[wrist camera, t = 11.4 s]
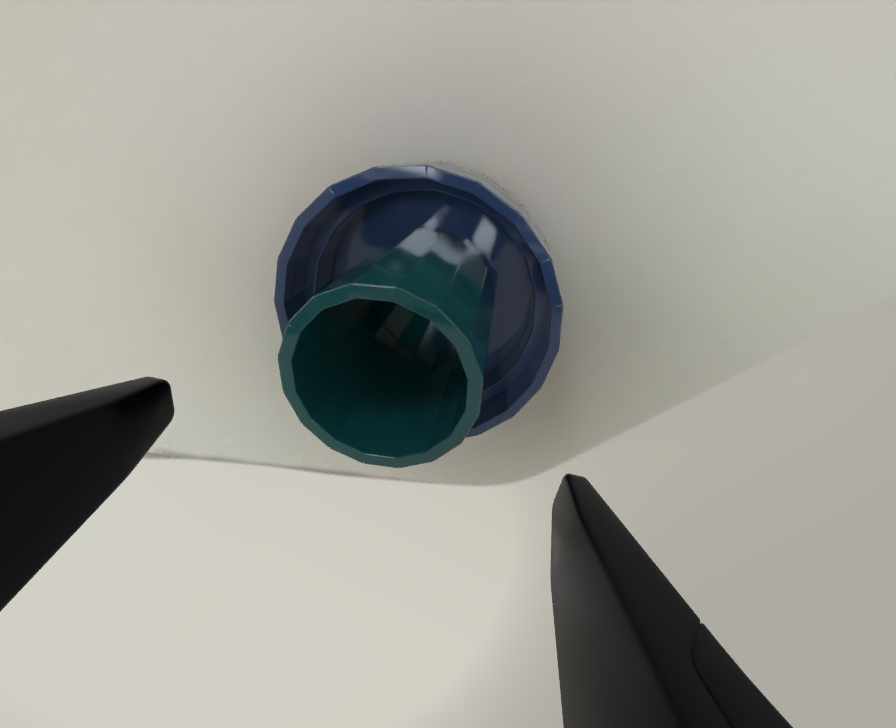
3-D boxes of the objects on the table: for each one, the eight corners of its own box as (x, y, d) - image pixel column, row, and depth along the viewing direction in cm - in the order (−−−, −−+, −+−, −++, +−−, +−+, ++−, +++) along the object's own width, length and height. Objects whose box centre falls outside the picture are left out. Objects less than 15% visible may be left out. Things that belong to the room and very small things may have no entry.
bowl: (577, 364, 20) (590, 412, 16) (375, 413, 22) (350, 462, 19) (513, 117, 15) (512, 108, 12) (277, 215, 18) (221, 231, 15)
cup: (511, 335, 19) (507, 447, 12) (398, 365, 20) (334, 481, 13) (470, 209, 17) (437, 253, 10) (348, 254, 18) (240, 320, 11)
